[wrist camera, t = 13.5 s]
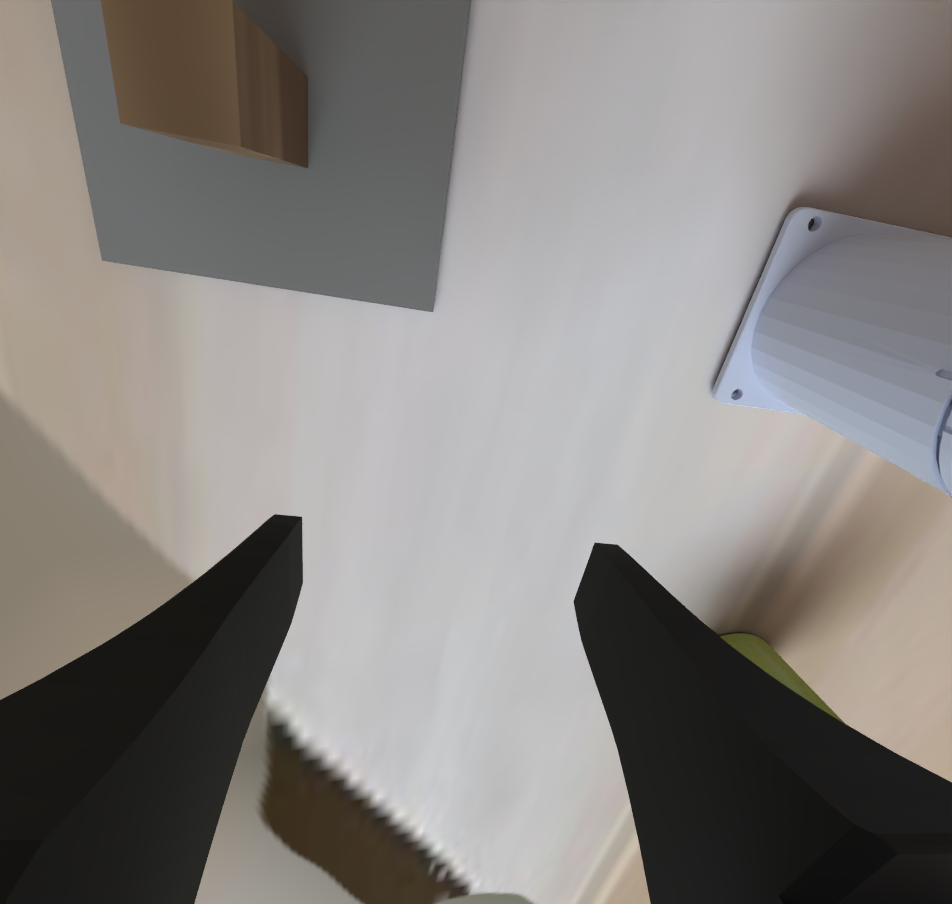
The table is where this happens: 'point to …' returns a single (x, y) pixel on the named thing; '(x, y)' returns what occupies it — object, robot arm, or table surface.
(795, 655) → the table surface
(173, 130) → the stick
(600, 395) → the table surface
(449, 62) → the mat
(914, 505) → the table surface
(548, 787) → the table surface
